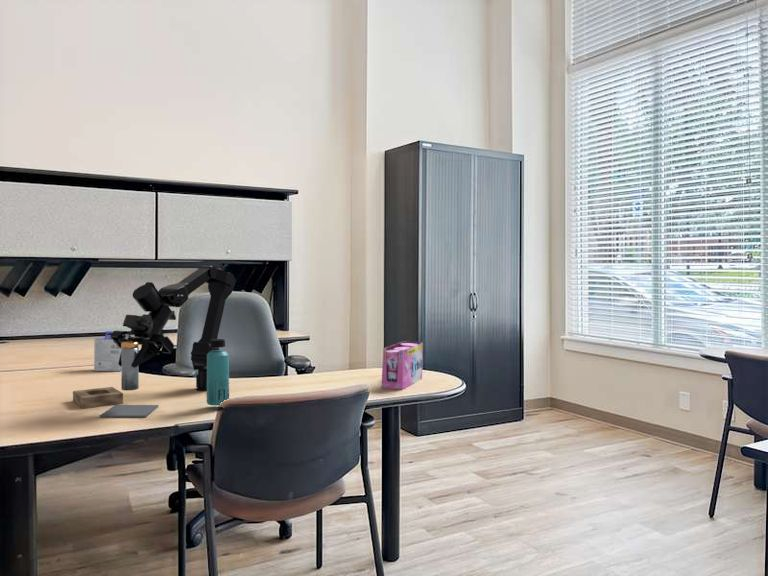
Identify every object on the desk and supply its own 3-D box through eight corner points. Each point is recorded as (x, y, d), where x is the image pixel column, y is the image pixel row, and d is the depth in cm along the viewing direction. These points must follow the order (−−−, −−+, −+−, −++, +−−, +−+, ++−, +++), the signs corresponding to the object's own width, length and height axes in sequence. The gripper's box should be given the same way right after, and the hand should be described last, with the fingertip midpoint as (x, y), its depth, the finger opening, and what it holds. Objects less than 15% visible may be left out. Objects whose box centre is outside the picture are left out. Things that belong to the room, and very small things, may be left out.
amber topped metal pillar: (136, 386, 175) (136, 340, 174) (140, 389, 171) (140, 342, 171) (120, 388, 172) (119, 341, 172) (123, 391, 169) (122, 343, 168)
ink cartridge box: (126, 368, 236) (126, 331, 235) (121, 371, 231) (121, 332, 230) (99, 368, 235) (99, 330, 234) (93, 371, 230) (93, 332, 229)
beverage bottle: (217, 412, 174) (217, 341, 173) (200, 408, 178) (201, 339, 177) (234, 407, 180) (234, 338, 179) (218, 404, 183) (218, 337, 182)
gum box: (401, 391, 207) (402, 350, 206) (379, 388, 210) (380, 349, 209) (422, 378, 229) (423, 342, 229) (402, 376, 232) (403, 340, 232)
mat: (158, 406, 179) (158, 404, 178) (145, 417, 167) (145, 415, 167) (115, 406, 178) (115, 404, 178) (99, 417, 166) (99, 415, 166)
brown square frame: (112, 396, 190) (112, 386, 190) (122, 403, 182) (122, 393, 182) (73, 401, 183) (72, 391, 183) (82, 408, 175) (82, 398, 175)
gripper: (115, 302, 178) (83, 345, 168) (166, 305, 171) (137, 350, 161) (135, 326, 185) (106, 369, 176) (186, 330, 179) (158, 375, 169)
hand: (126, 365), depth 170 cm, fingers closed on amber topped metal pillar, 4 cm apart
